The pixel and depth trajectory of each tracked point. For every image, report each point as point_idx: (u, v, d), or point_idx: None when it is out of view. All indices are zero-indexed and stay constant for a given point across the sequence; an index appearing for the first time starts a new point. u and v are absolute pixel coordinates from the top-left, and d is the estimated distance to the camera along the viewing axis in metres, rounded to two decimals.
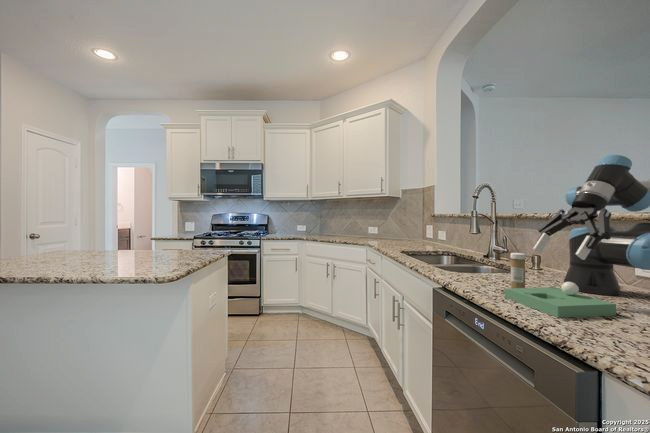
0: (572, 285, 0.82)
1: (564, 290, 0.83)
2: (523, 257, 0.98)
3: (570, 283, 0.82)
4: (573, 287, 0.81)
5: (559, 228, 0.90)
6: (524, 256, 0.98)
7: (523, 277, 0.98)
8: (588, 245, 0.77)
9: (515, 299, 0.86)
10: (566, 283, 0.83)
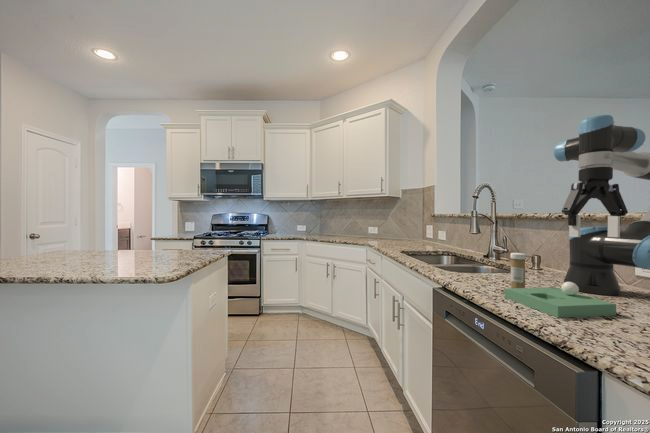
0: (572, 285, 0.82)
1: (564, 290, 0.83)
2: (523, 257, 0.98)
3: (570, 283, 0.82)
4: (573, 287, 0.81)
5: None
6: (524, 256, 0.98)
7: (523, 277, 0.98)
8: None
9: (515, 299, 0.86)
10: (566, 283, 0.83)
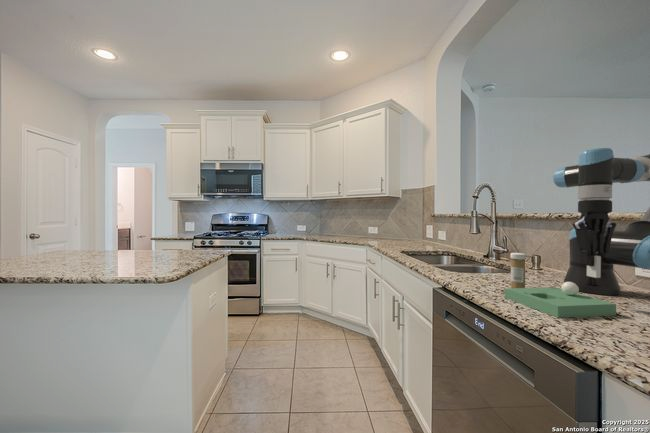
0: (572, 285, 0.82)
1: (564, 290, 0.83)
2: (523, 257, 0.98)
3: (570, 283, 0.82)
4: (573, 287, 0.81)
5: None
6: (524, 256, 0.98)
7: (523, 277, 0.98)
8: None
9: (515, 299, 0.86)
10: (566, 283, 0.83)
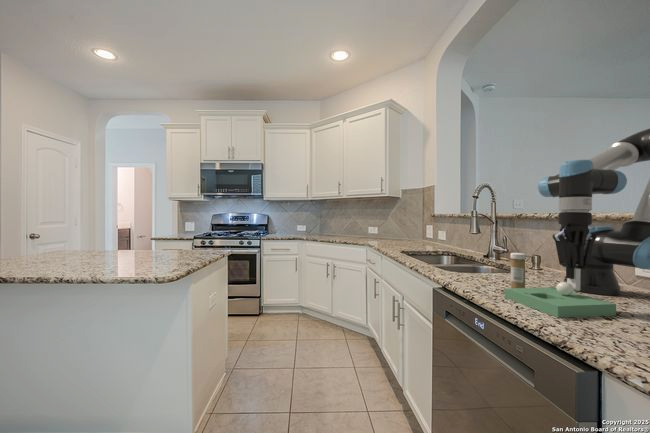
0: (564, 288, 0.82)
1: (562, 294, 0.83)
2: (523, 257, 0.98)
3: (562, 287, 0.82)
4: (567, 290, 0.81)
5: None
6: (524, 256, 0.98)
7: (523, 277, 0.98)
8: None
9: (515, 299, 0.86)
10: (559, 288, 0.83)
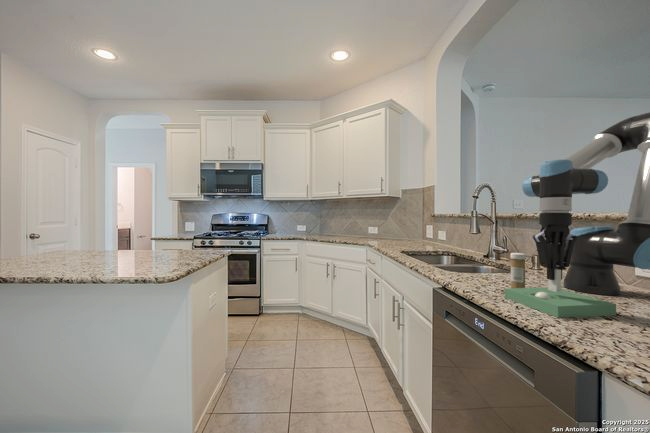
0: None
1: (539, 293, 0.82)
2: (523, 257, 0.98)
3: None
4: (549, 297, 0.80)
5: None
6: (524, 256, 0.98)
7: (523, 277, 0.98)
8: None
9: (515, 299, 0.86)
10: None
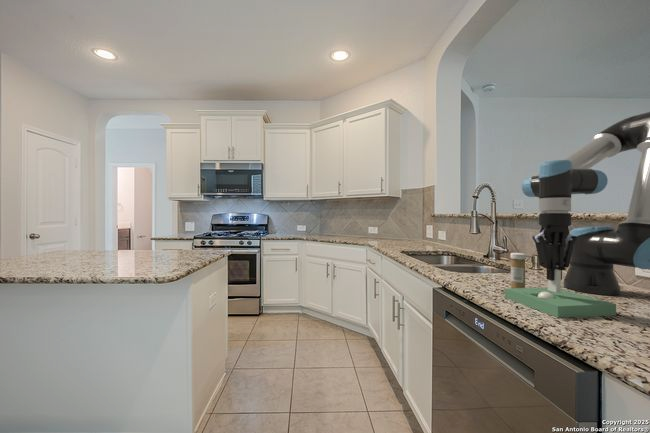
0: None
1: (545, 292, 0.82)
2: (523, 257, 0.98)
3: None
4: None
5: None
6: (524, 256, 0.98)
7: (523, 277, 0.98)
8: None
9: (515, 299, 0.86)
10: None
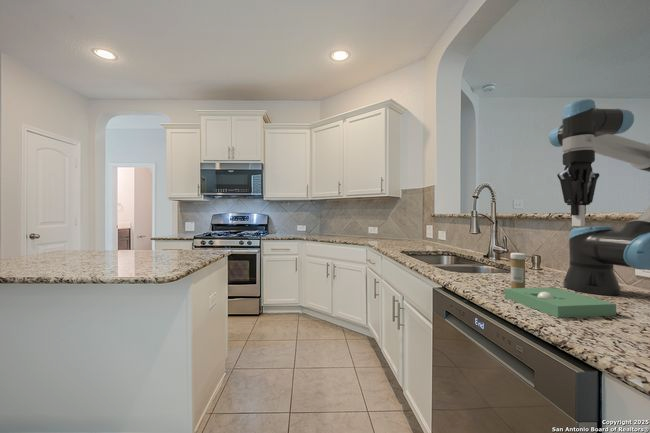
0: None
1: (545, 292, 0.82)
2: (523, 257, 0.98)
3: None
4: (553, 298, 0.81)
5: None
6: (524, 256, 0.98)
7: (523, 277, 0.98)
8: None
9: (515, 299, 0.86)
10: None
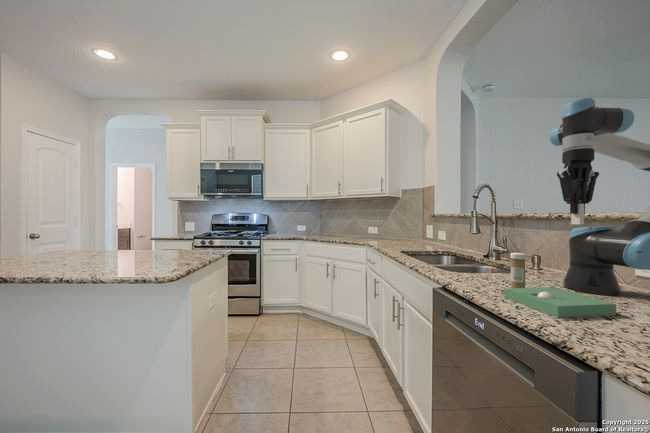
0: (553, 298, 0.81)
1: (544, 292, 0.82)
2: (523, 257, 0.98)
3: None
4: (553, 298, 0.81)
5: None
6: (524, 256, 0.98)
7: (523, 277, 0.98)
8: None
9: (515, 299, 0.86)
10: None
